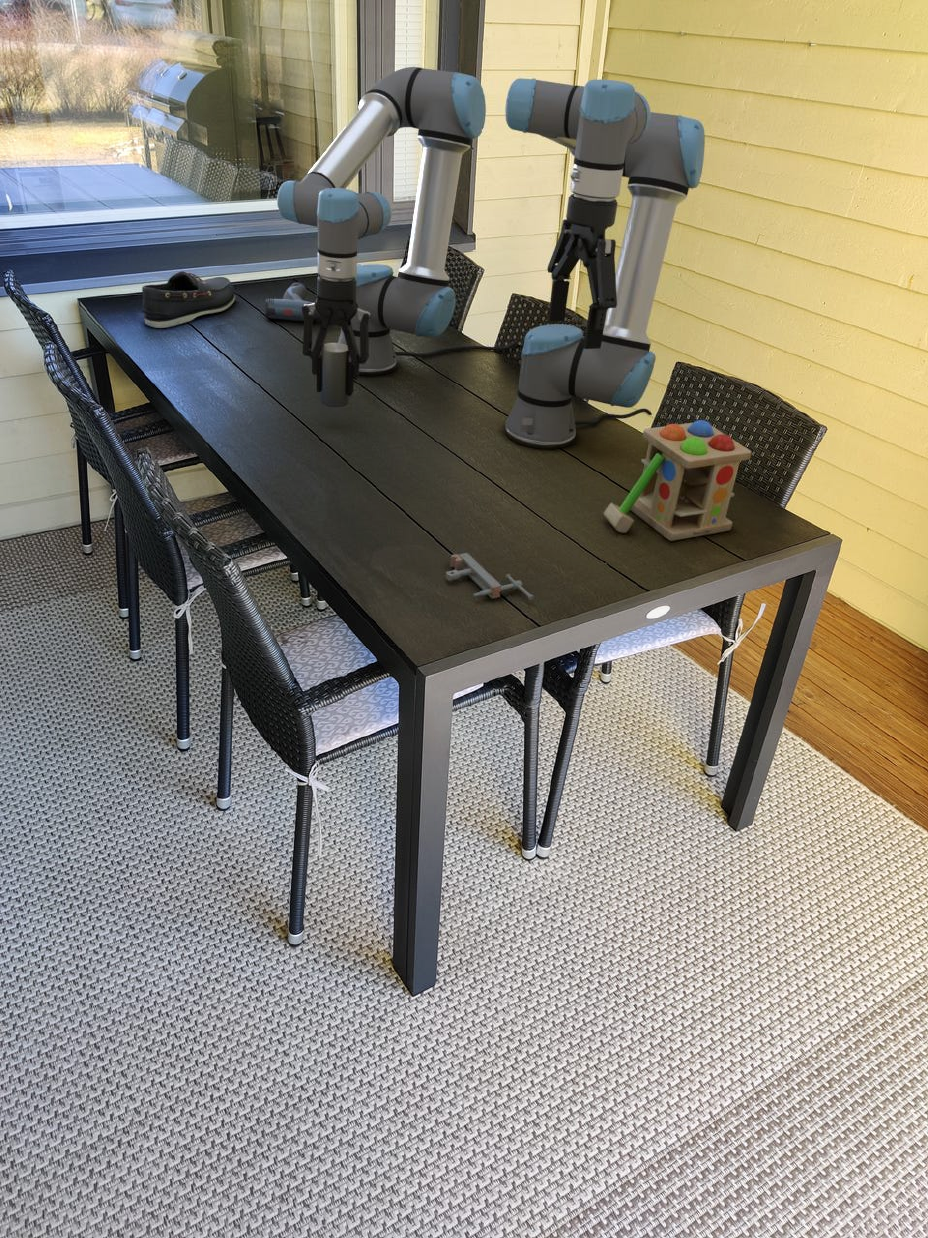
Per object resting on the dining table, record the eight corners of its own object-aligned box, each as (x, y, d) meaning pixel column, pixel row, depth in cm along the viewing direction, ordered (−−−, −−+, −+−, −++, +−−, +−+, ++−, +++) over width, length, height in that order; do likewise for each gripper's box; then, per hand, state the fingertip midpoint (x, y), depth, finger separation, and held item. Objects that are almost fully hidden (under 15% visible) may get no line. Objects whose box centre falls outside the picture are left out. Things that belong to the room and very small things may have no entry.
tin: (352, 405, 202) (354, 350, 196) (327, 408, 200) (328, 353, 193) (341, 395, 206) (342, 341, 200) (316, 398, 204) (317, 343, 197)
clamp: (435, 558, 161) (487, 546, 165) (434, 569, 162) (486, 557, 167) (482, 605, 150) (536, 591, 155) (480, 617, 152) (534, 603, 156)
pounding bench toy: (630, 549, 173) (650, 456, 163) (588, 512, 183) (603, 423, 173) (732, 530, 182) (756, 441, 172) (686, 496, 193) (706, 410, 183)
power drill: (344, 304, 276) (335, 327, 259) (277, 298, 275) (264, 321, 258) (344, 285, 273) (335, 306, 256) (277, 279, 272) (264, 300, 255)
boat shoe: (253, 306, 269) (251, 267, 264) (162, 330, 245) (157, 287, 240) (219, 297, 275) (216, 259, 269) (126, 320, 251) (121, 278, 245)
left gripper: (284, 275, 186) (285, 392, 199) (380, 287, 185) (376, 403, 198) (294, 265, 193) (295, 379, 205) (388, 277, 192) (383, 390, 204)
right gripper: (538, 178, 157) (522, 310, 169) (609, 215, 138) (586, 361, 150) (579, 179, 160) (561, 309, 172) (655, 215, 141) (629, 359, 153)
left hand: (335, 391), depth 202 cm, fingers closed on tin, 6 cm apart
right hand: (573, 333), depth 161 cm, fingers open, 13 cm apart
